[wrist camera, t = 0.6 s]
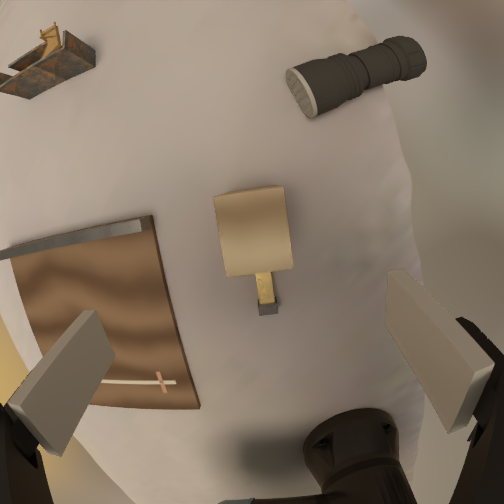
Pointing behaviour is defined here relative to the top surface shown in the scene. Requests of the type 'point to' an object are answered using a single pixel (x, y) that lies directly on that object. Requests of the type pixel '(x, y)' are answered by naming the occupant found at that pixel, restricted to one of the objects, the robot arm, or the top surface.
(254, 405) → the top surface
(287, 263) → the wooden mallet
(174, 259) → the top surface
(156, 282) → the board
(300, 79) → the flashlight
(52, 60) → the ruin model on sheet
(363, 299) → the top surface
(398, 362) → the top surface
